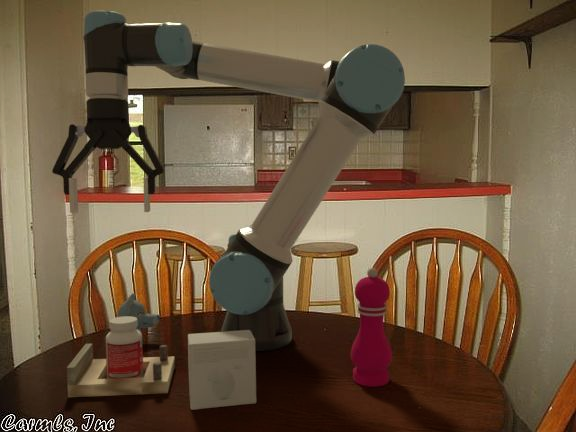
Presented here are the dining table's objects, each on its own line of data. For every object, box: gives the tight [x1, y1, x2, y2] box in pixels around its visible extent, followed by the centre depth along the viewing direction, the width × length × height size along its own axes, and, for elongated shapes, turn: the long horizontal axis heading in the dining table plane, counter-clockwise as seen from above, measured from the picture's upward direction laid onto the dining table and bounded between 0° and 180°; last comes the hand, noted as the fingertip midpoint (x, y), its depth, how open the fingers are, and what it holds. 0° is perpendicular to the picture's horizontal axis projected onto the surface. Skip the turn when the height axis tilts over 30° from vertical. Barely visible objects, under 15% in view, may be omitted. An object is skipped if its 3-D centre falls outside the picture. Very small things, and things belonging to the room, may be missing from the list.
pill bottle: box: [105, 316, 144, 379], centre depth 97 cm, size 6×6×11 cm
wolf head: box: [116, 292, 161, 335], centre depth 119 cm, size 6×9×10 cm
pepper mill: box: [350, 267, 393, 388], centre depth 97 cm, size 7×7×20 cm
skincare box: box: [187, 330, 257, 411], centre depth 90 cm, size 10×6×10 cm, turn 102°
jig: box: [66, 343, 176, 398], centre depth 97 cm, size 16×12×5 cm
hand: (111, 212), depth 106 cm, fingers open, 13 cm apart
